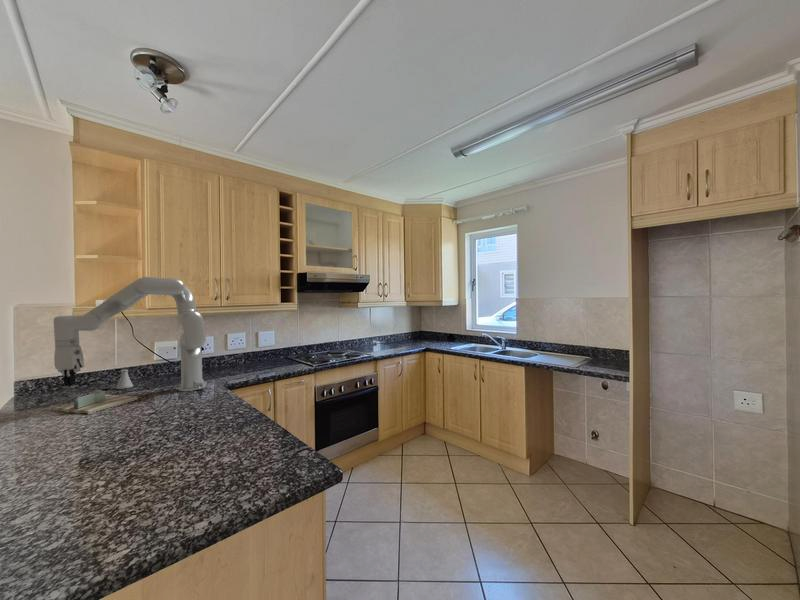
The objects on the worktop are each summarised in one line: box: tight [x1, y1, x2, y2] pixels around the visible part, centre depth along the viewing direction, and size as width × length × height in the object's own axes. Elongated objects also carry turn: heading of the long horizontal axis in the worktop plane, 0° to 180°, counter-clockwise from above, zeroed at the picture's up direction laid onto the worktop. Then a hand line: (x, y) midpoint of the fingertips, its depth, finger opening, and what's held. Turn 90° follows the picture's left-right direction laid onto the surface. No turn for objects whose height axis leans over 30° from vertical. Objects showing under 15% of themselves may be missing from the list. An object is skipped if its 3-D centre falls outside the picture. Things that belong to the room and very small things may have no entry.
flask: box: [115, 368, 134, 390], centre depth 180 cm, size 7×7×10 cm
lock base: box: [55, 394, 139, 415], centre depth 149 cm, size 20×20×2 cm
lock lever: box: [73, 389, 106, 409], centre depth 146 cm, size 13×5×5 cm, turn 176°
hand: (69, 384), depth 143 cm, fingers closed
